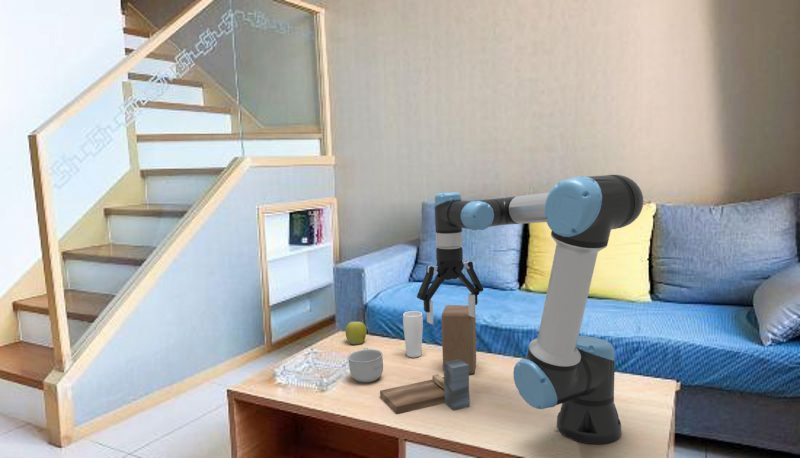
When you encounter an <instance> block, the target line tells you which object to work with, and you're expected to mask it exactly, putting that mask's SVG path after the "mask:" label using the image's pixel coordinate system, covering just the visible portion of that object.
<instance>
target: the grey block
mask: <svg viewBox="0 0 800 458" xmlns="http://www.w3.org/2000/svg"><path fill="white" fill-rule="evenodd" d="M442 377H444V379H443V378H442ZM431 380H433V381H434V382H435V383H437V384H438V385H439V386H441V387H442V388H443V389H444V394H445V403H444V404H445V405H446V406H447V407H448V408H450V409H451V410H452V411H457V410H462V409H465V408H470V374H469V365H468V364H466V363H465V362H463V361H462V360H460V359H457V360H452V361H447V362H444V371H443V376H441V375H439V374H433V375H432V378H431Z"/></svg>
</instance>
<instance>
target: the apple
mask: <svg viewBox="0 0 800 458" xmlns="http://www.w3.org/2000/svg"><path fill="white" fill-rule="evenodd" d="M352 320H353V321H349V323H347V325H346V327H345V336H346V340H347V342H348V343H349V344H350V345H359V344H363V343H364V342H365V340H366V338H367V337H366V336H367V326H366V325H365V323H364V322H363V321H356V320H355V319H354V318H353V317H352Z"/></svg>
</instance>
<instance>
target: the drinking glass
mask: <svg viewBox="0 0 800 458" xmlns="http://www.w3.org/2000/svg"><path fill="white" fill-rule="evenodd" d="M423 324H424V319H423V312H421V311H418V310H410V311H405V312H404V313H403V314H402V326H403V327H402V328H403V334H404V335H403V336H404V341H405V342H404V343H405V351H406V352H405V354H406V356H407V357H408V358H410V359H411V358H413V359H415V358H419V357H421V356H422V355H423V354H422V353H423V352H422V348H423V347H422V346H423V330H424V329H423V326H424V325H423Z"/></svg>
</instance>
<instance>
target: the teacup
mask: <svg viewBox="0 0 800 458" xmlns="http://www.w3.org/2000/svg"><path fill="white" fill-rule="evenodd" d="M347 360H348V366H349V372H350V376H351V377H352V378H353V379H354V380H355V381H357V382H359V383H365V384H366V383H367V384H368V383H372V382H374V381H376V380H378V379H379V377H380V376H382V374H383V371H384V361H383V360H384V358H383V352H382V351H381V350H379V349H373V348H372V349H371V348H369V347H364V348H363V349H359V350H356V351H354V352H352V353H350V354H349V355H348V356H347Z"/></svg>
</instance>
